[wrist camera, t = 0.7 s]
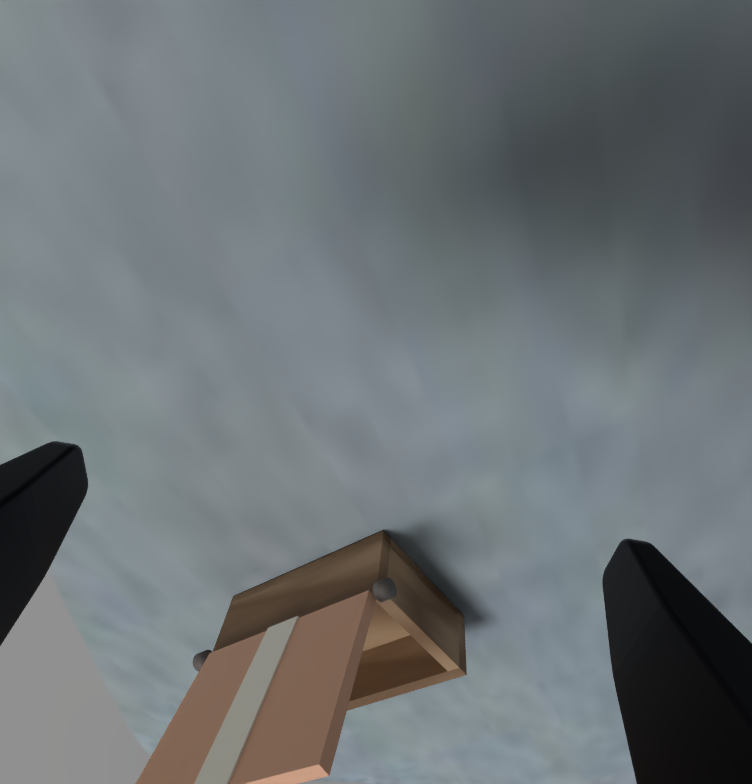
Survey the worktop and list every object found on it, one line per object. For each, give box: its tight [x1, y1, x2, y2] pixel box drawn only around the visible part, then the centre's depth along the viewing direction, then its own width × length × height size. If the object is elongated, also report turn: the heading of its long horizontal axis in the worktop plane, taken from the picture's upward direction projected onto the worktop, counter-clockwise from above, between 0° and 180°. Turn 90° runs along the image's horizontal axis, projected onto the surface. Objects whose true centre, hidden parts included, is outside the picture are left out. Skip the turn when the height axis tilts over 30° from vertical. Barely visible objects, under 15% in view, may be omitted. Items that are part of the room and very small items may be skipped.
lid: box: [136, 590, 376, 784], centre depth 24 cm, size 8×11×1 cm
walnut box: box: [193, 530, 467, 710], centre depth 31 cm, size 8×13×4 cm, turn 126°
